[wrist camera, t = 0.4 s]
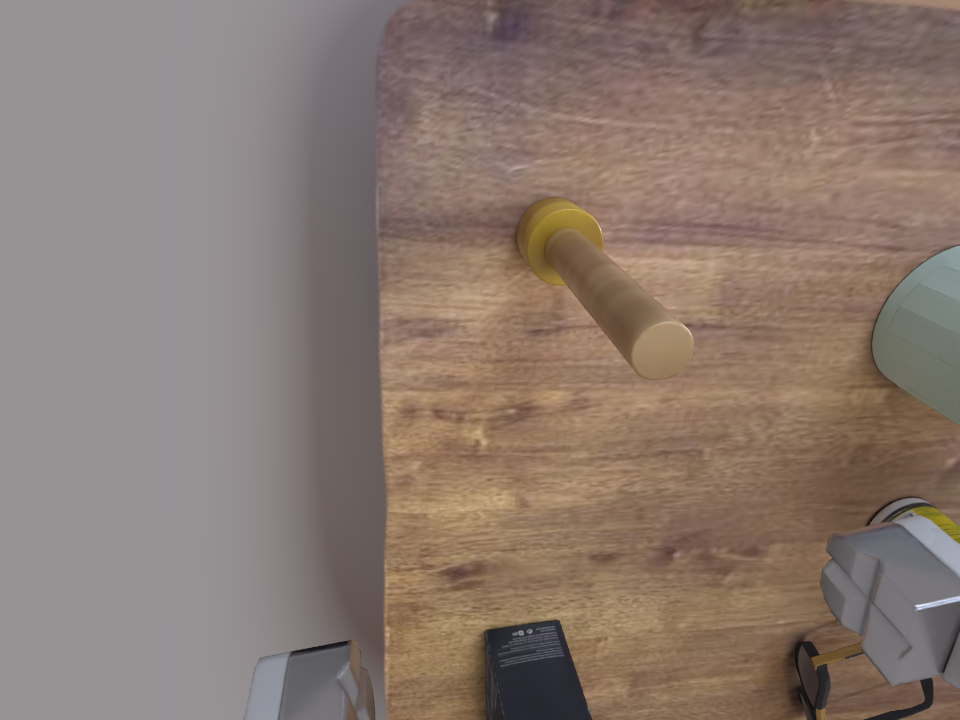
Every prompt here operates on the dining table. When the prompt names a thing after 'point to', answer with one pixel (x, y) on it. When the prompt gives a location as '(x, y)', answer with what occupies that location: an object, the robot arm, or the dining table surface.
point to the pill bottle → (916, 508)
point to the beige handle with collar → (602, 287)
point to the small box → (532, 675)
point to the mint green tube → (924, 334)
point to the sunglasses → (818, 682)
